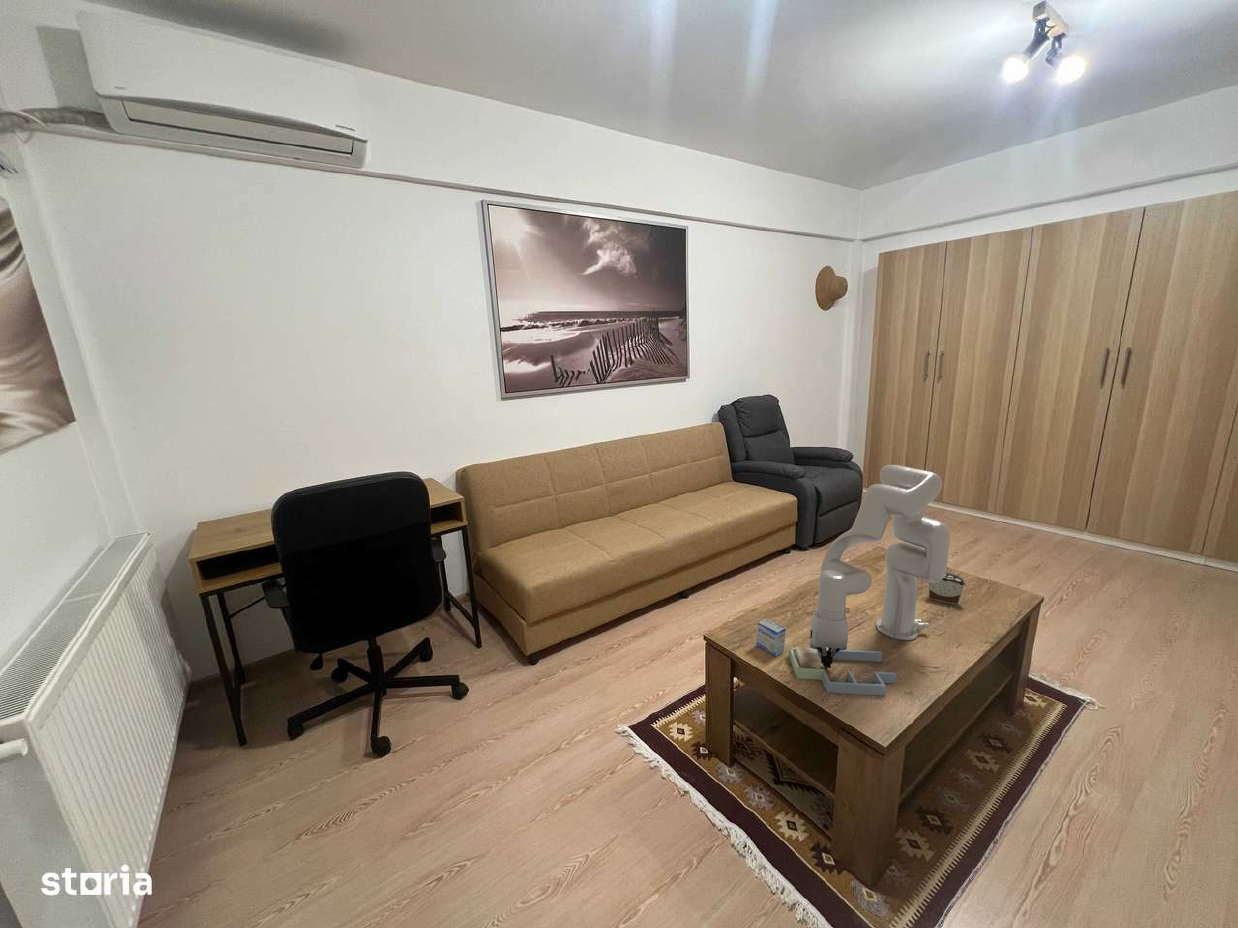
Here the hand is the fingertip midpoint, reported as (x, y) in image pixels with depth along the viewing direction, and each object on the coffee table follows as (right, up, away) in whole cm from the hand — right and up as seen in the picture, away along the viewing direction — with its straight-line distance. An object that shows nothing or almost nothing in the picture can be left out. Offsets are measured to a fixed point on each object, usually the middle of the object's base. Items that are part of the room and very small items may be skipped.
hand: (826, 665), depth 150 cm
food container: (+62, +10, +39) cm, 74 cm away
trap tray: (+4, -2, -3) cm, 5 cm away
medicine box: (-14, +1, +11) cm, 18 cm away
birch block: (-5, -1, +1) cm, 6 cm away
